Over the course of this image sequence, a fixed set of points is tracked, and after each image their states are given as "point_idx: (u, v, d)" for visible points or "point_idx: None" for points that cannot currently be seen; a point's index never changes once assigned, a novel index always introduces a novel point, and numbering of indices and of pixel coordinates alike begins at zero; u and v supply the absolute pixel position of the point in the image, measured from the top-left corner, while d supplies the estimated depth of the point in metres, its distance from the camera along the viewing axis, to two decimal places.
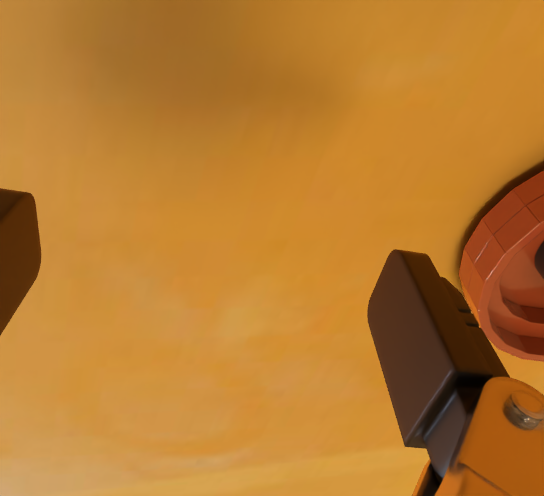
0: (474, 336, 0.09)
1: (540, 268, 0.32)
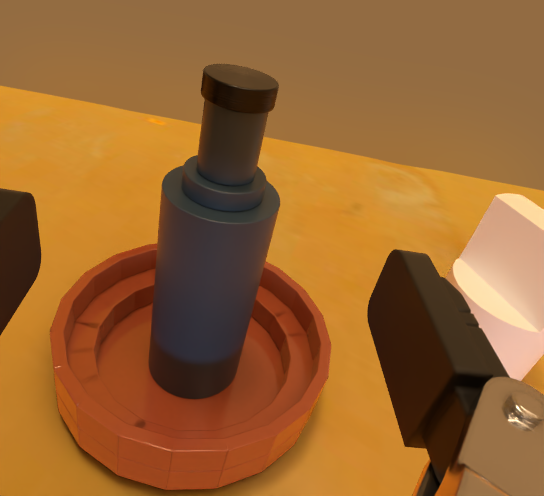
0: (474, 336, 0.09)
1: (189, 389, 0.26)
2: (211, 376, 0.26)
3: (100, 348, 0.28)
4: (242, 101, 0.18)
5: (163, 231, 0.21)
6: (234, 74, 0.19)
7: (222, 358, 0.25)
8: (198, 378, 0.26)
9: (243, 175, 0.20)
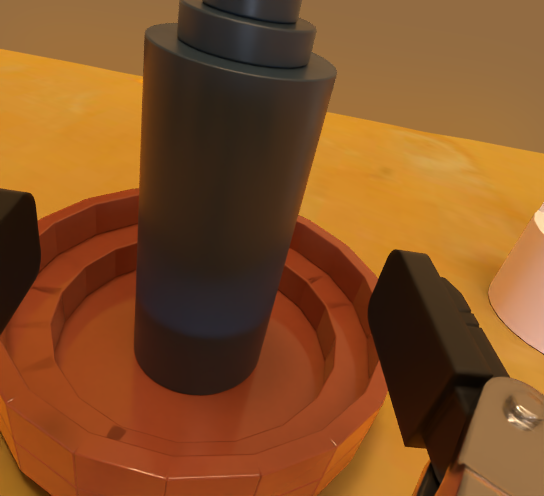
0: (474, 336, 0.09)
1: (193, 380, 0.18)
2: (225, 360, 0.17)
3: (64, 325, 0.20)
4: None
5: (149, 111, 0.13)
6: None
7: (243, 331, 0.17)
8: (206, 363, 0.17)
9: (282, 2, 0.12)
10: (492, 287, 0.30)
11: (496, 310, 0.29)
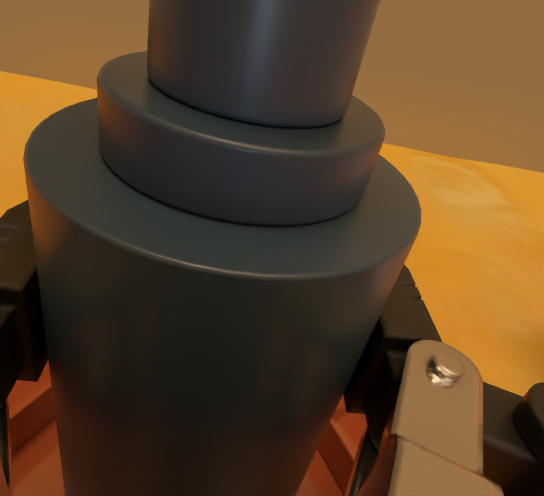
0: (414, 307, 0.09)
1: None
2: None
3: None
4: None
5: (41, 295, 0.06)
6: None
7: None
8: None
9: (323, 85, 0.05)
10: None
11: None
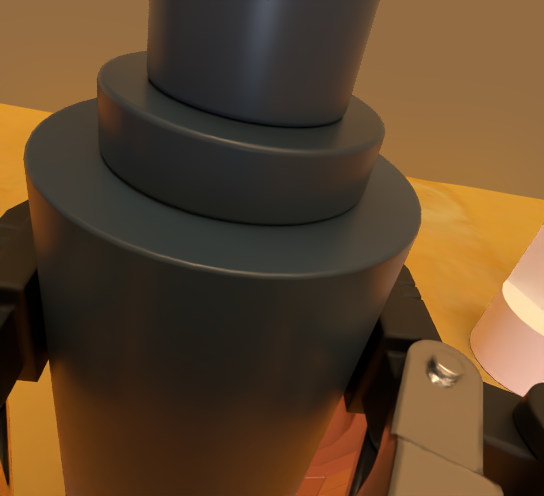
0: (414, 307, 0.09)
1: None
2: None
3: None
4: None
5: (42, 294, 0.06)
6: None
7: None
8: None
9: (323, 84, 0.05)
10: (472, 335, 0.40)
11: (474, 353, 0.39)
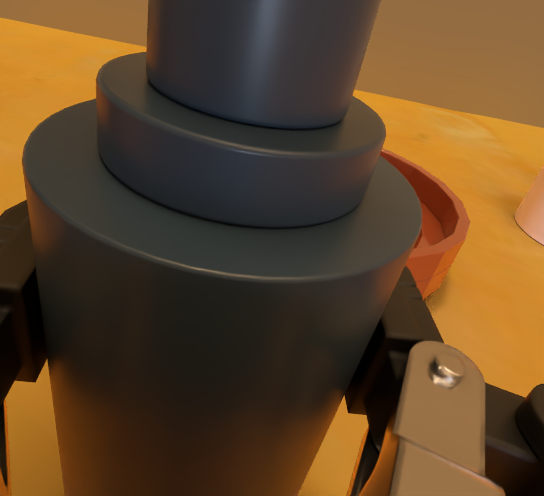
0: (416, 308, 0.09)
1: None
2: None
3: None
4: None
5: (41, 296, 0.06)
6: None
7: None
8: None
9: (323, 86, 0.05)
10: (518, 212, 0.39)
11: (521, 226, 0.38)
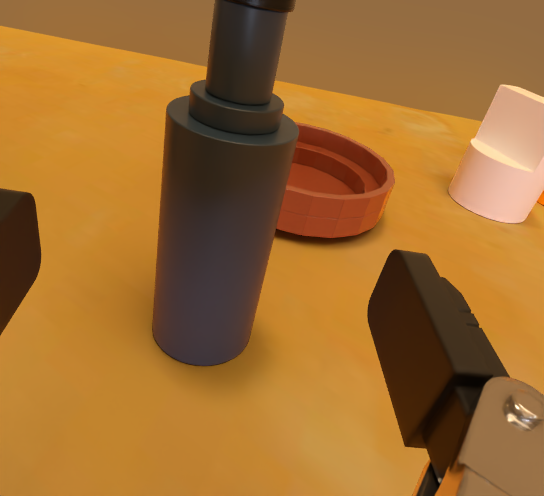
0: (474, 336, 0.09)
1: (198, 353, 0.24)
2: (222, 338, 0.23)
3: None
4: None
5: (169, 162, 0.19)
6: None
7: (235, 316, 0.23)
8: (208, 340, 0.23)
9: (259, 92, 0.18)
10: (450, 184, 0.52)
11: (451, 195, 0.51)
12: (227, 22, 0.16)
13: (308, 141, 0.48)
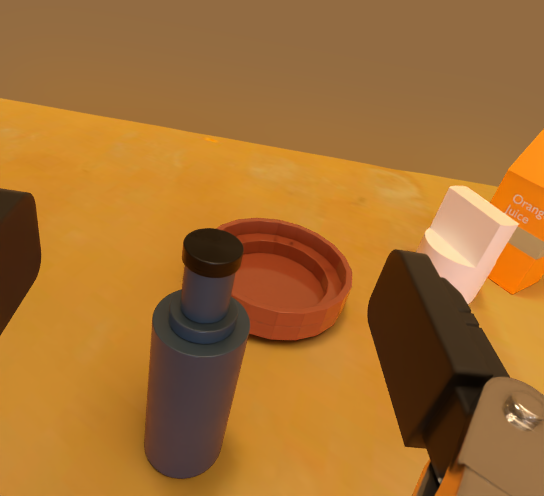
0: (474, 336, 0.09)
1: (179, 471, 0.31)
2: (196, 461, 0.31)
3: None
4: (213, 271, 0.22)
5: (154, 355, 0.26)
6: (208, 243, 0.23)
7: (206, 446, 0.30)
8: (186, 463, 0.30)
9: (217, 315, 0.25)
10: None
11: None
12: (193, 280, 0.23)
13: (282, 234, 0.55)
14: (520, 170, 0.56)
